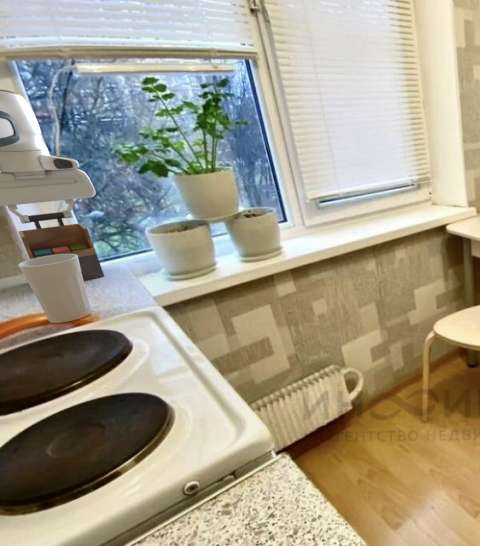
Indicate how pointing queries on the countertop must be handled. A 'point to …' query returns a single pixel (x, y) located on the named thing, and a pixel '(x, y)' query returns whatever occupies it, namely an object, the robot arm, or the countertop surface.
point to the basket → (55, 236)
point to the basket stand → (90, 267)
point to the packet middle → (60, 250)
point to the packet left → (42, 252)
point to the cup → (58, 286)
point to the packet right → (77, 247)
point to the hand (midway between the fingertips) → (48, 220)
